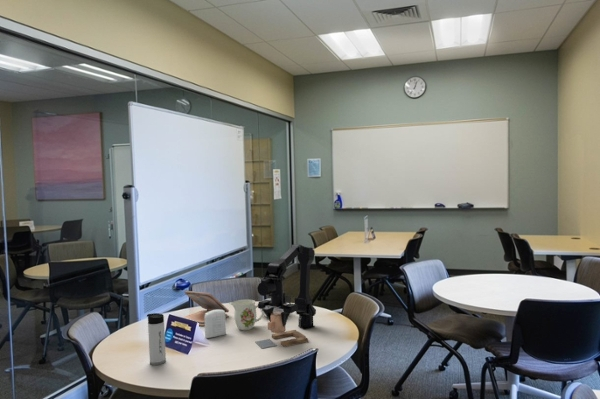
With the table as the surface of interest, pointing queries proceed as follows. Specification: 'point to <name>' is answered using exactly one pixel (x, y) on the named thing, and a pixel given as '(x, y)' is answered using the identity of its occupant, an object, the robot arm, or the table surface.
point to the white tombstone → (215, 323)
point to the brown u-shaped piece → (298, 339)
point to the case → (204, 305)
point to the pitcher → (245, 313)
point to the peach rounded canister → (276, 323)
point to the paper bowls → (274, 308)
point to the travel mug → (156, 338)
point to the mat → (265, 343)
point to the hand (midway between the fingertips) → (278, 325)
